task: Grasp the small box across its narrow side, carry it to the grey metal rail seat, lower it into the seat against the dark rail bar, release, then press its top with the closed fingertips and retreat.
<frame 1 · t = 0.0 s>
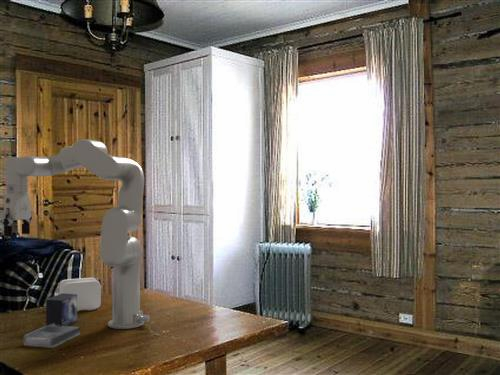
hand: (17, 235, 192), 31 cm above the table, fingers open, 9 cm apart
rail seat: (52, 339, 164), on the table
cable organizer: (79, 309, 206), on the table
small box: (62, 326, 181), on the table
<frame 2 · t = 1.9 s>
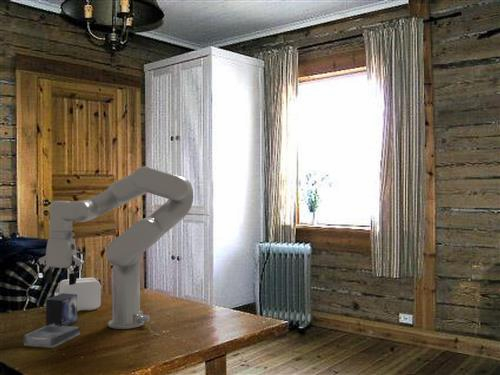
hand: (60, 283, 180), 15 cm above the table, fingers open, 9 cm apart
nothing on the table moved.
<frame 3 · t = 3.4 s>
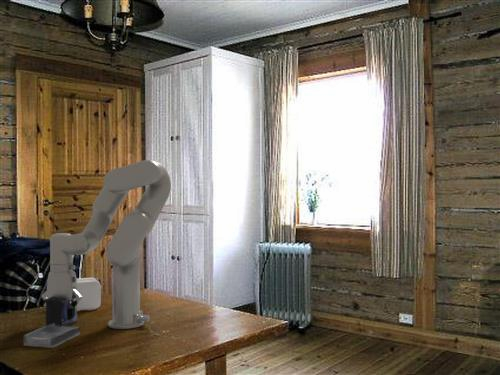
hand: (61, 317, 181), 3 cm above the table, fingers closed on small box, 6 cm apart
small box: (62, 326, 181), on the table, touching gripper
everything else where it was.
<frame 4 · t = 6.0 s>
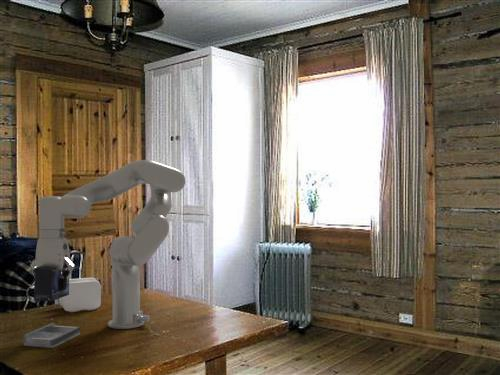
hand: (52, 289, 164), 16 cm above the table, fingers closed on small box, 6 cm apart
small box: (52, 298, 164), point 13 cm above the table, touching gripper
everything else where it was.
when the fingers open (5 cm above the table, at t = 8.5 s): small box drops 1 cm, resting on rail seat.
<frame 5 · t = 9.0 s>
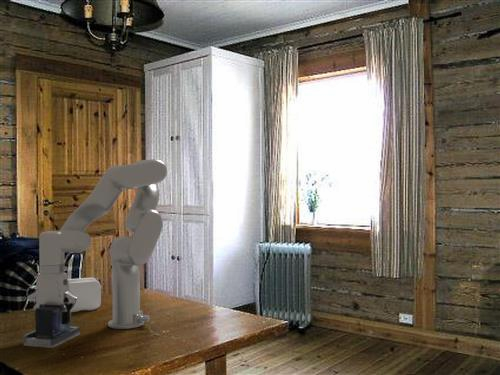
hand: (52, 322, 164), 6 cm above the table, fingers open, 9 cm apart
small box: (53, 337, 164), point 1 cm above the table, touching rail seat
everything else where it was.
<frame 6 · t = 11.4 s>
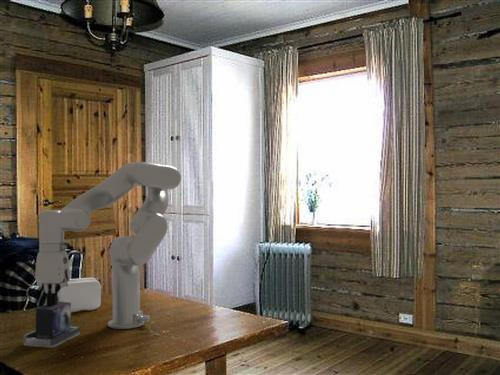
hand: (52, 304, 164), 11 cm above the table, fingers closed
small box: (53, 337, 164), point 1 cm above the table, touching gripper, rail seat
everything else where it was.
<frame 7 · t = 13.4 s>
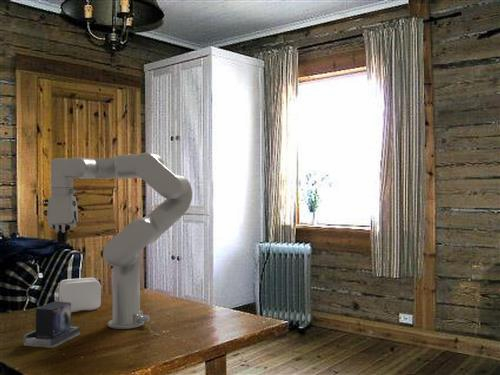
hand: (62, 243, 183), 29 cm above the table, fingers closed
small box: (53, 337, 164), point 1 cm above the table, touching rail seat
everything else where it was.
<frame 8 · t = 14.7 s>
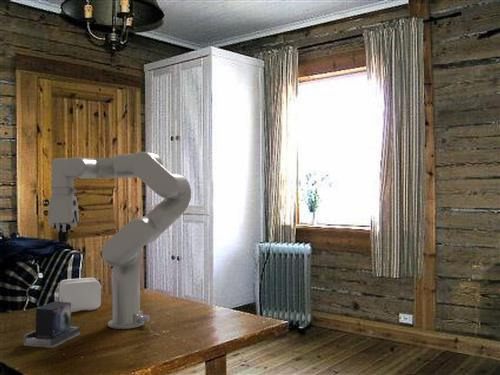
hand: (63, 242, 185), 29 cm above the table, fingers closed
nothing on the table moved.
at the end: small box 0.3 cm off-centre on the rail seat, point 0.6 cm above the rail seat's base; small box tilted 0°; the gripper is holding nothing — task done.
